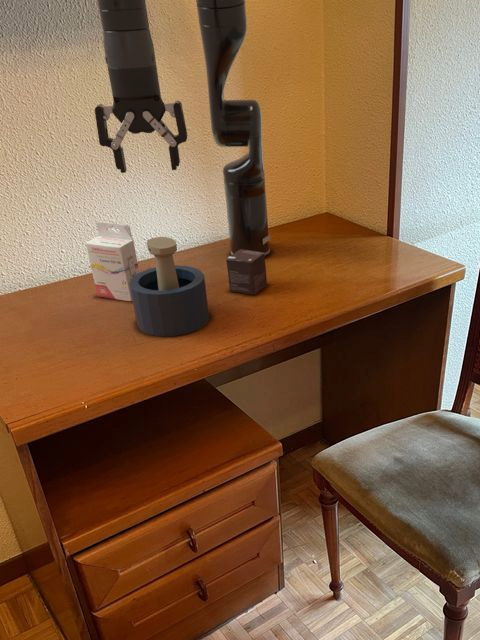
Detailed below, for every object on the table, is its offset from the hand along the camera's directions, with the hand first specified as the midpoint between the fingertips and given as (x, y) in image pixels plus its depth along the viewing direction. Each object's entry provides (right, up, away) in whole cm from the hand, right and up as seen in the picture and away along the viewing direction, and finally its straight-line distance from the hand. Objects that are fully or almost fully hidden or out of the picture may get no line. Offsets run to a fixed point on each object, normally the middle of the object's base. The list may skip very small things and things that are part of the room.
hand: (149, 170), depth 113 cm
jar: (+1, -23, +16) cm, 28 cm away
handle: (+1, -23, +16) cm, 28 cm away
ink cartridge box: (-13, -16, +27) cm, 34 cm away
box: (+14, -14, +28) cm, 35 cm away
